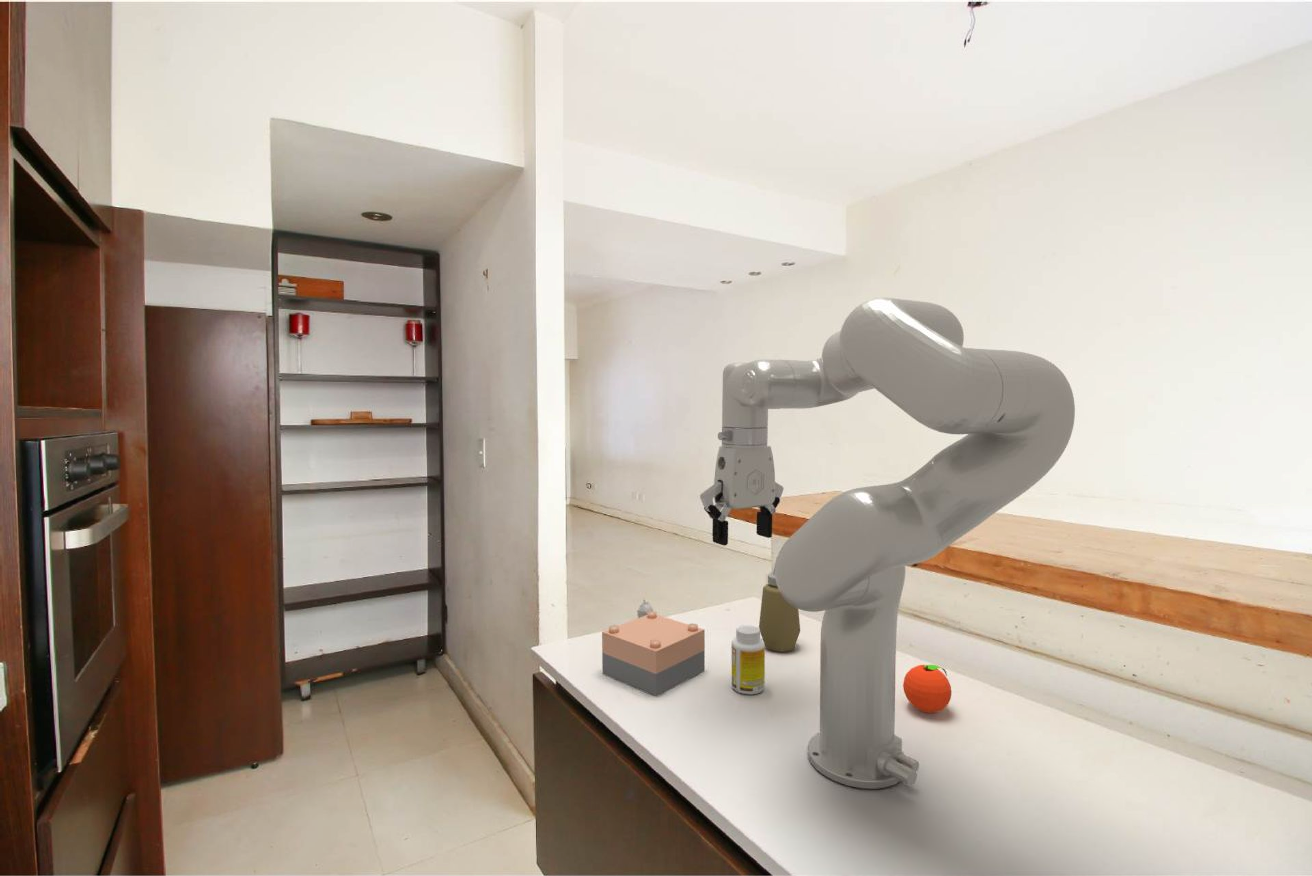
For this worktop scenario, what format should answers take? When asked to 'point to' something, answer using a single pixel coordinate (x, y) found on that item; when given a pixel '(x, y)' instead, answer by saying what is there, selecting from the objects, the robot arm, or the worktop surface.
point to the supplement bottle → (748, 660)
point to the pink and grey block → (653, 653)
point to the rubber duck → (644, 609)
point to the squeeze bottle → (778, 618)
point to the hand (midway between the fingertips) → (742, 539)
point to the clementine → (927, 688)
